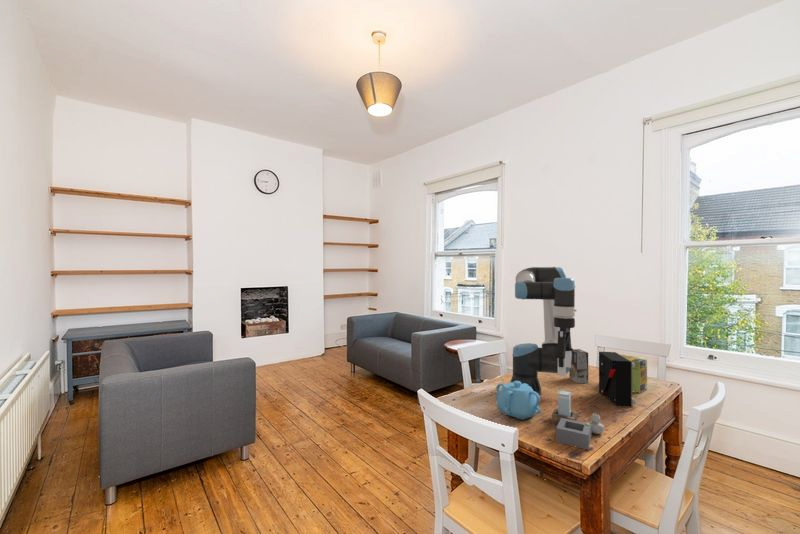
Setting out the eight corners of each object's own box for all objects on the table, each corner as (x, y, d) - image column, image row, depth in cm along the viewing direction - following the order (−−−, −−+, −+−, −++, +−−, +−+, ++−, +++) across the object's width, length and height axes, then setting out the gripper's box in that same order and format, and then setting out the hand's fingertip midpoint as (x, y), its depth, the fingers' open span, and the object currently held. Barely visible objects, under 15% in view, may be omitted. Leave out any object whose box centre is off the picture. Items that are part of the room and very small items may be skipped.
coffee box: (589, 383, 188) (588, 352, 188) (576, 383, 188) (576, 352, 188) (580, 377, 197) (580, 348, 197) (568, 377, 197) (568, 348, 197)
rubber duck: (585, 433, 131) (585, 411, 131) (590, 427, 136) (590, 406, 136) (601, 437, 127) (601, 415, 127) (606, 431, 132) (606, 410, 132)
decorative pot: (500, 421, 141) (500, 387, 141) (494, 405, 157) (494, 375, 157) (542, 423, 139) (542, 389, 139) (532, 407, 155) (532, 376, 155)
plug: (558, 423, 139) (557, 393, 139) (559, 420, 142) (559, 390, 142) (569, 426, 136) (569, 395, 137) (571, 422, 140) (570, 392, 140)
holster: (551, 424, 138) (551, 414, 138) (555, 417, 145) (555, 407, 145) (574, 429, 134) (574, 419, 134) (577, 421, 140) (577, 411, 140)
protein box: (640, 393, 172) (640, 361, 172) (606, 385, 184) (606, 355, 184) (647, 389, 178) (647, 358, 178) (614, 381, 190) (614, 352, 190)
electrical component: (636, 407, 155) (636, 361, 155) (611, 405, 157) (611, 360, 157) (620, 393, 172) (620, 352, 172) (597, 392, 174) (597, 351, 175)
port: (556, 442, 124) (556, 426, 124) (561, 431, 133) (561, 416, 133) (588, 450, 119) (588, 434, 119) (591, 438, 127) (591, 423, 127)
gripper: (570, 321, 127) (570, 380, 127) (578, 314, 148) (579, 365, 148) (547, 319, 131) (548, 377, 131) (559, 313, 152) (559, 362, 152)
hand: (564, 371), depth 139 cm, fingers open, 13 cm apart
